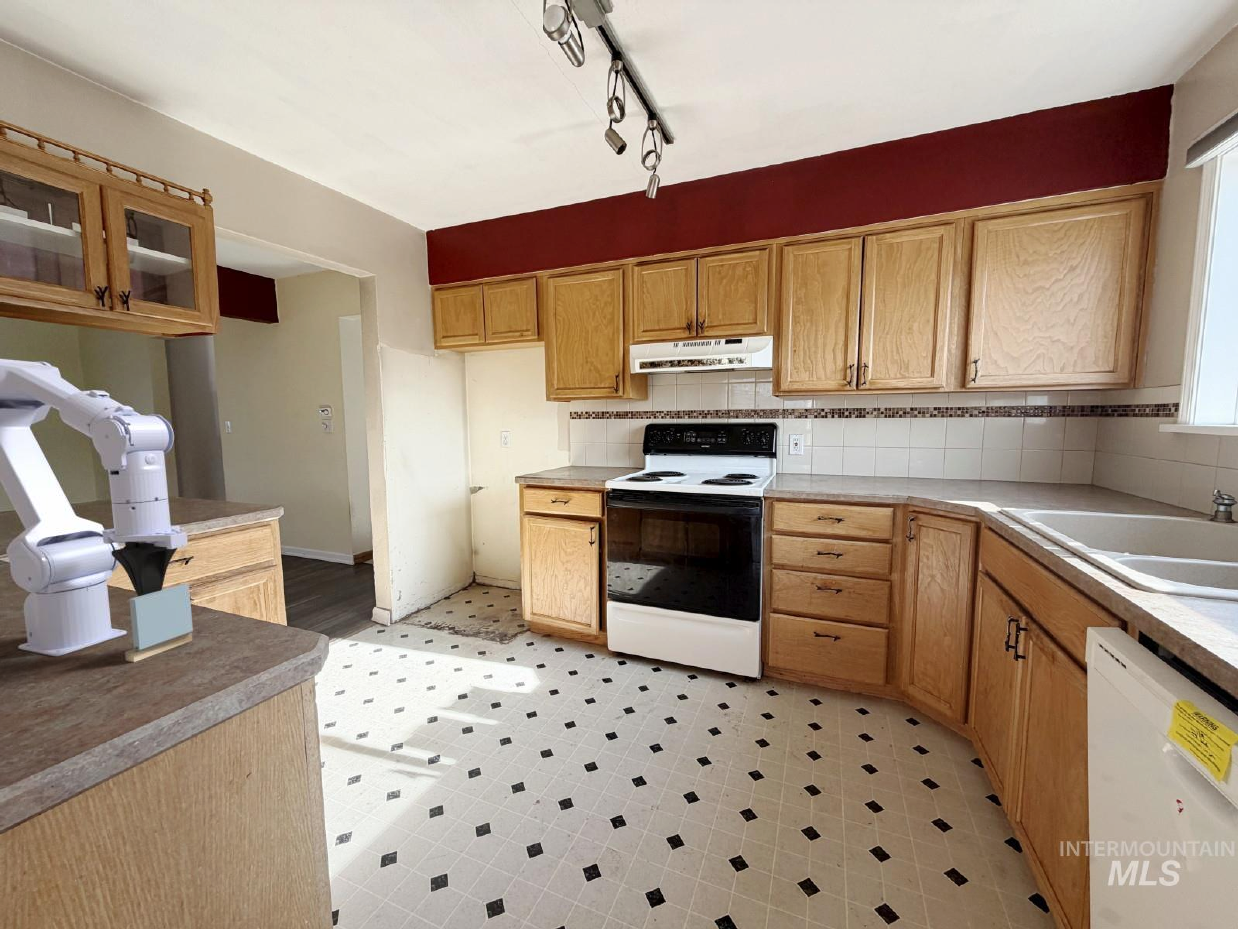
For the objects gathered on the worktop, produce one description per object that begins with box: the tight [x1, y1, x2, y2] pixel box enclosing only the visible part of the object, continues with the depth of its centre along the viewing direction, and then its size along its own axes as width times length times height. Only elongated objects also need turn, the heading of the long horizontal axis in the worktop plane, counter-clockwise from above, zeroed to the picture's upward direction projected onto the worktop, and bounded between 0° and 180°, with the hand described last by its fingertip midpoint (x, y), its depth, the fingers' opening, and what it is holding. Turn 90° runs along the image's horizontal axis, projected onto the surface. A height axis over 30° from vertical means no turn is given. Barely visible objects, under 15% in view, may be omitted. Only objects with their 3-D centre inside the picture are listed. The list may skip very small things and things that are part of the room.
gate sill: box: [124, 632, 193, 663], centre depth 70 cm, size 2×7×1 cm, turn 163°
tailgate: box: [128, 583, 194, 652], centre depth 69 cm, size 1×6×7 cm, turn 163°
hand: (149, 594), depth 70 cm, fingers closed
